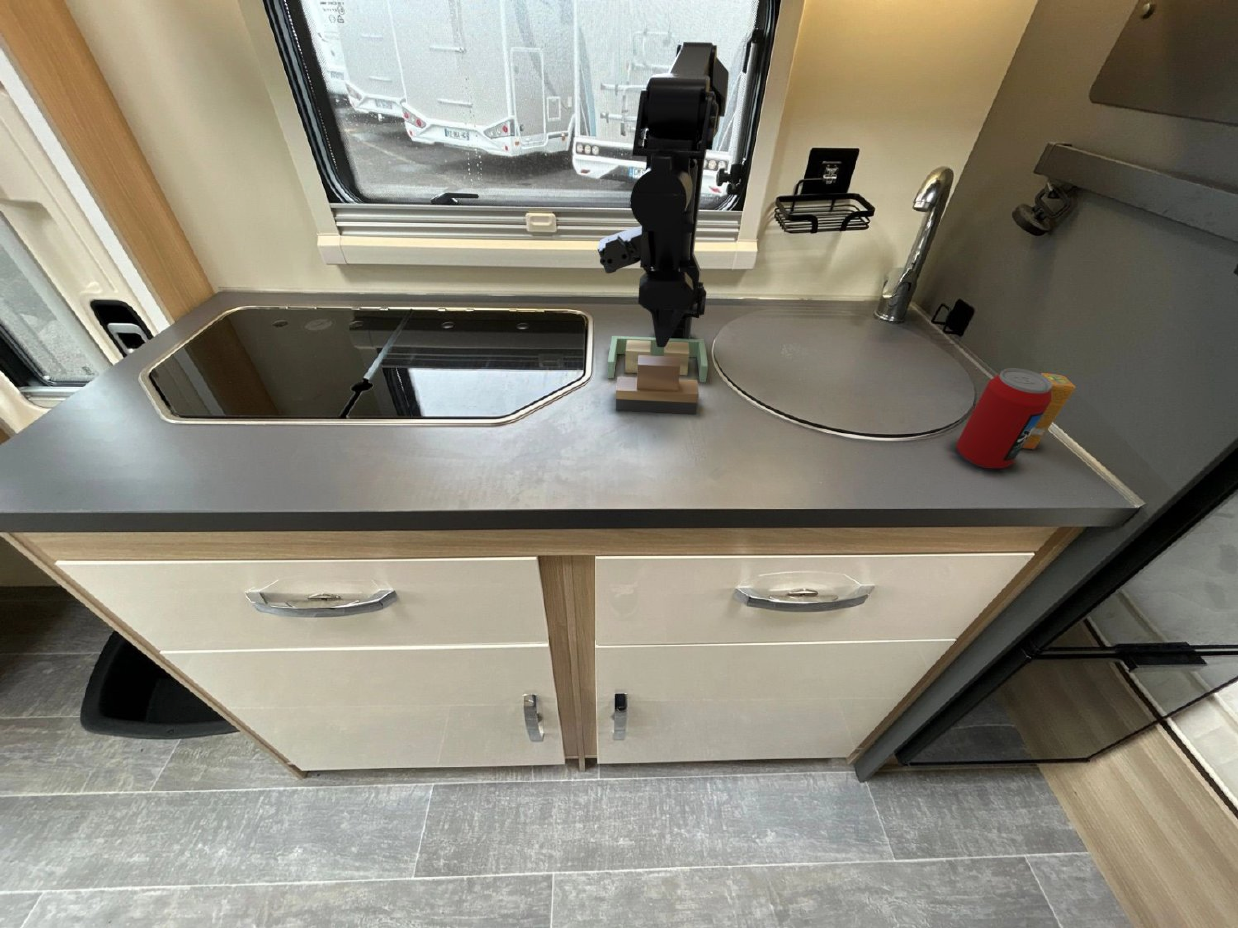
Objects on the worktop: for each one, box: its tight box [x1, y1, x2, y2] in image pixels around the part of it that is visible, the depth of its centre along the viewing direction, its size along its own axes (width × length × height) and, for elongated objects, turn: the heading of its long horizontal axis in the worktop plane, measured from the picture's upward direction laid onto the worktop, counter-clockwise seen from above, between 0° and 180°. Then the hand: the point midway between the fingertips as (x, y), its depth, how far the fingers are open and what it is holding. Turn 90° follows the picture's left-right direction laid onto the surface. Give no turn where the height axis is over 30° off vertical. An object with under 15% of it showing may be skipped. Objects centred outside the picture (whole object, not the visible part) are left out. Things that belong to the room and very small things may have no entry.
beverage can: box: [956, 367, 1052, 469], centre depth 67 cm, size 7×7×12 cm
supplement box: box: [1022, 372, 1077, 450], centre depth 70 cm, size 3×4×10 cm
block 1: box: [624, 340, 651, 374], centre depth 87 cm, size 4×4×4 cm
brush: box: [615, 355, 700, 415], centre depth 77 cm, size 4×12×8 cm, turn 86°
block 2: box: [663, 342, 690, 376], centre depth 87 cm, size 4×4×4 cm
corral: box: [607, 335, 709, 383], centre depth 88 cm, size 10×16×3 cm, turn 86°
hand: (661, 331), depth 72 cm, fingers open, 9 cm apart
